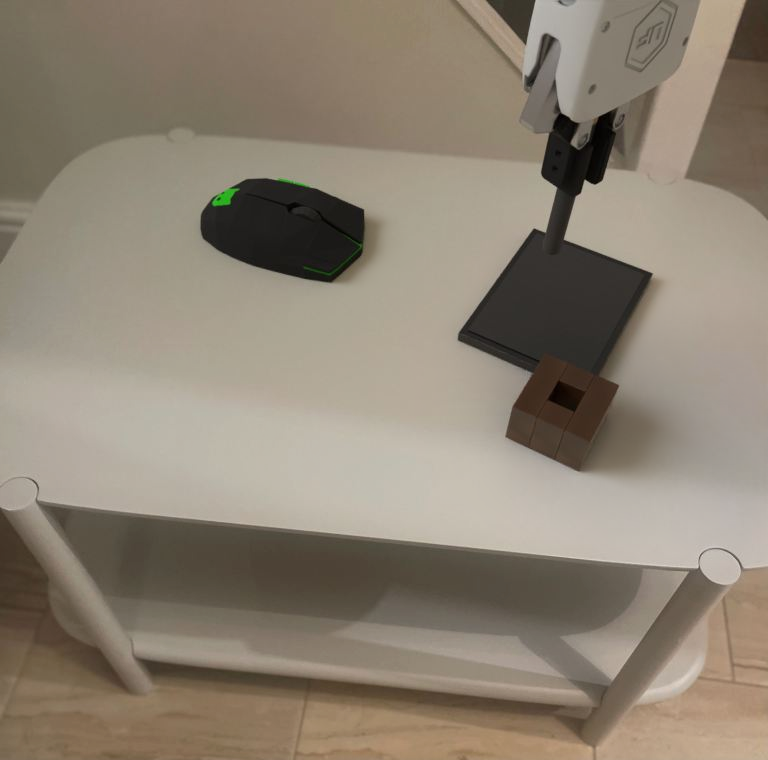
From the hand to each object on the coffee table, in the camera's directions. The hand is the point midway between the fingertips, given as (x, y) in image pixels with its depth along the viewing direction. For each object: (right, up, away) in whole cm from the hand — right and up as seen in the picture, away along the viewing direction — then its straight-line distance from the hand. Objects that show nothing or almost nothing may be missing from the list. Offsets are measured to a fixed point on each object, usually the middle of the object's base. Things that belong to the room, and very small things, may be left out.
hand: (571, 178), depth 54 cm
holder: (+1, -17, +9) cm, 20 cm away
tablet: (+3, -7, +17) cm, 19 cm away
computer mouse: (-22, +1, +24) cm, 33 cm away
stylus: (0, -4, +5) cm, 7 cm away
